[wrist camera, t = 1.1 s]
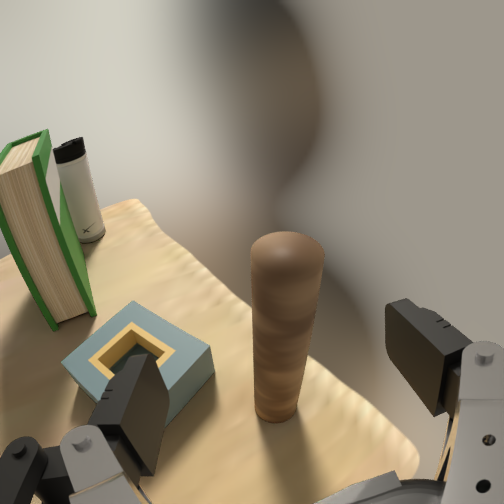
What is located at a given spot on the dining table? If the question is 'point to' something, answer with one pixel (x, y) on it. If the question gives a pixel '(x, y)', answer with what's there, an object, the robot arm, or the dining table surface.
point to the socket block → (138, 343)
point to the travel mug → (79, 190)
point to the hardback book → (42, 230)
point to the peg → (282, 318)
